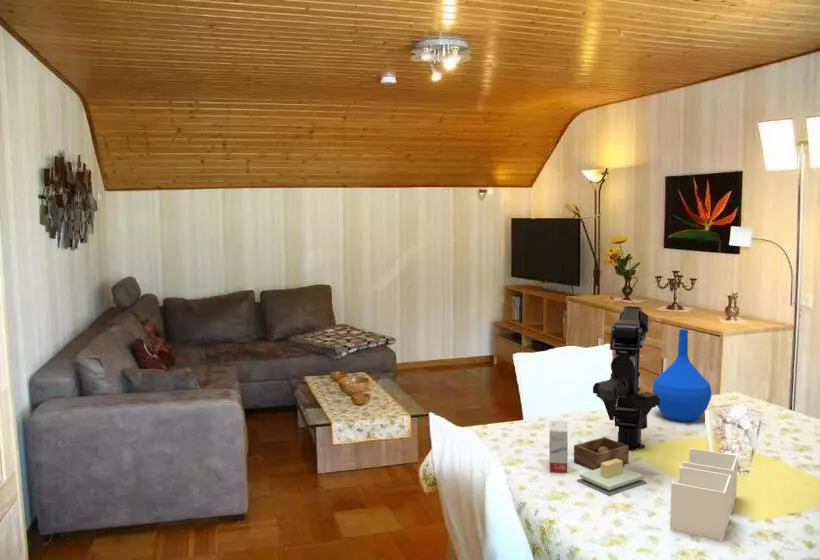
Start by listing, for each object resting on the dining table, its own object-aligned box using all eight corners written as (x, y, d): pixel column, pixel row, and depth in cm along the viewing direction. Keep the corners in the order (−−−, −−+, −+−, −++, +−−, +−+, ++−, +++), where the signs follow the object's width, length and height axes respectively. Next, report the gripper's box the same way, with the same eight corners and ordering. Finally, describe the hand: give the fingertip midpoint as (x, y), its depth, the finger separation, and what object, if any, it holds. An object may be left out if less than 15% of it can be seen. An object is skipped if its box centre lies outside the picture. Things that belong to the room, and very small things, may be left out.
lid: (613, 469, 190) (614, 451, 189) (643, 481, 182) (644, 462, 181) (579, 480, 183) (579, 461, 183) (608, 493, 175) (609, 473, 174)
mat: (613, 469, 191) (613, 468, 191) (646, 483, 181) (646, 481, 181) (576, 481, 183) (576, 479, 183) (609, 495, 174) (609, 494, 174)
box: (603, 453, 203) (604, 436, 202) (628, 463, 195) (628, 445, 195) (573, 462, 197) (574, 445, 196) (598, 472, 189) (598, 454, 188)
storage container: (723, 541, 151) (725, 492, 149) (669, 530, 156) (671, 482, 155) (736, 498, 172) (737, 455, 171) (688, 489, 178) (690, 447, 176)
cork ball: (602, 454, 200) (603, 444, 200) (611, 457, 198) (611, 447, 198) (595, 456, 199) (595, 446, 199) (603, 459, 196) (603, 449, 196)
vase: (657, 424, 228) (659, 334, 224) (647, 408, 246) (649, 324, 242) (716, 426, 225) (720, 335, 221) (702, 410, 243) (705, 325, 239)
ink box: (567, 473, 189) (568, 431, 187) (549, 472, 190) (549, 430, 188) (566, 461, 197) (567, 421, 196) (549, 460, 198) (549, 420, 197)
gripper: (579, 366, 193) (578, 421, 195) (633, 380, 178) (632, 439, 179) (607, 360, 199) (606, 414, 201) (661, 373, 183) (660, 431, 185)
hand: (624, 424), depth 191 cm, fingers open, 9 cm apart
